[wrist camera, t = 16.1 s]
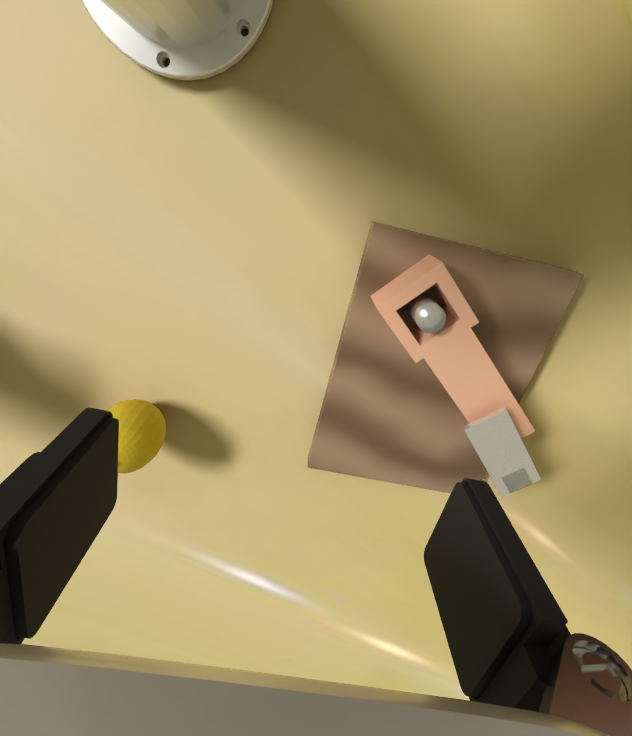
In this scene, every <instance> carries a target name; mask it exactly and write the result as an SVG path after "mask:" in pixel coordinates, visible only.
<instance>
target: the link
mask: <svg viewBox="0 0 632 736" xmlns="http://www.w3.org/2000/svg"><path fill="white" fill-rule="evenodd" d="M431 286H434V288H435V290H436V291H437V293H438V294H439V296H440V297H441V299H442V301H443V302H444V304H445V305H446V307H444V308H443V310H444V312H445V314H446V321H445V324H444V326H443V327H442V328H441V329H440V330H438V331H436V332H433V333H427V332H424V331H422V330H421V329H420V328H419V326H416V327H415V328H413V329H412V330H409V328H408V327H407V325H406V324H405V322H404V321H403V320H402V318H401V317H400V315H399V314H398V312H397V311H396V310H398V309H399V308H401V307H402V306H404V305H405V304H407V303H408V302H409V301H411V300H412V299H414V298H415V297H417V296H418V295H420V294H421V293H422V292H424V291H425V290H427V289H428V288H430V287H431ZM371 298H372V300H373V302H374V304H375V306H376V308H377V310H378V311H379V312H380V314H381V315H382V317H383V318H384V319H385V321H386V322H387V324H388V325H389V327H390V328H391V329H392V331H393V332H394V334H395V335H396V336H397V338H398V339H399V341H400V342H401V343H402V345H403V346H404V348H405V349H406V350H407V352H408V353H409V355H410V356H411V357H412V359H413V360H414V362H415V363H417V362H418V361H420V360H421V359H423V358H424V359H425V361H426V362H427V364H428V365H429V366H430V368H431V369H432V371H433V372H434V374H435V375H436V376H437V378H438V379H439V381H440V382H441V384H442V385H443V386H444V388H445V389H446V391H447V392H448V394H449V395H450V396H451V398H452V399H453V401H454V402H455V404H456V405H457V406H458V408H459V409H460V411H461V412H462V414H463V415H464V416H465V418H466V419H467V421H468V422H469V423H471V422H473V421H475V420H477V419H480V418H482V417H484V416H486V415H488V414H490V413H492V412H494V411H496V410H498V409H500V408H502V407H505V408H506V410H507V411H508V413H509V415H510V417H511V419H512V421H513V423H514V426H515V428H516V430H517V432H518V434H519V436H520V438H521V439H522V438H524V437H526V436H528V435H530V434H531V433H533V432H535V430H534V428H533V426H532V425H531V423H530V422H529V420H528V418H527V417H526V415H525V414H524V412H523V410H522V409H521V407H520V406H519V404H518V402H517V401H516V399H515V398H514V396H513V394H512V393H511V391H510V390H509V388H508V386H507V385H506V383H505V382H504V380H503V378H502V377H501V375H500V374H499V372H498V371H497V369H496V367H495V366H494V364H493V363H492V361H491V359H490V358H489V356H488V355H487V353H486V351H485V350H484V348H483V347H482V345H481V343H480V342H479V340H478V339H477V337H476V335H475V334H474V332H473V331H472V329H471V327H473V326H474V325H476V324H477V323H479V321H478V319H477V318H476V316H475V314H474V313H473V311H472V309H471V308H470V306H469V305H468V303H467V301H466V300H465V298H464V296H463V295H462V293H461V292H460V290H459V288H458V287H457V285H456V283H455V282H454V280H453V278H452V277H451V275H450V274H449V272H448V270H447V269H446V267H445V265H444V264H443V262H442V261H440V260H438V259H437V258H435V257H433V256H432V255H430V254H428V255H427V256H426V257H424V258H423V259H421V260H420V261H419V262H417V263H416V264H414V265H413V266H412V267H410V268H409V269H407V270H406V271H405V272H403V273H402V274H400V275H399V276H398V277H396V278H395V279H393V280H392V281H391V282H389V283H388V284H386V285H385V286H384V287H382V288H381V289H379V290H378V291H377V292H375V293H374V294H372V295H371Z"/></svg>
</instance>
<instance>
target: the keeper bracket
mask: <svg viewBox="0 0 632 736" xmlns="http://www.w3.org/2000/svg"><path fill="white" fill-rule="evenodd" d="M463 429H464V431H465V432H466V434H467V436H468V438H469V440H470V441H471V443H472V445H473V447H474V449H475V450H476V452H477V454H478V456H479V457H480V459H481V461H482V463H483V465H484V466H485V468H486V470H487V472H488V473H489V475H490V477H491V479H492V481H493V482H494V484H495V486H496V488H497V490H498V491H499V493H500V495H501V496H502V497H503V496H505V495H507V494H510V493H512V492H514V491H517V490H519V489H521V488H523V487H526V486H528V485H530V484H533V483H535V482H537V481H539V480H541V478H540V476H539V474H538V472H537V470H536V468H535V466H534V464H533V462H532V460H531V458H530V456H529V454H528V452H527V450H526V448H525V446H524V444H523V442H522V440H521V438H520V436H519V434H518V432H517V430H516V428H515V426H514V423H513V421H512V419H511V417H510V415H509V413H508V411H507V410H506V408H505V407H502V408H500V409H498V410H496V411H494V412H492V413H490V414H488V415H486V416H484V417H482V418H480V419H477V420H475V421H473V422H471V423H469V424H467V425H465V426H463Z"/></svg>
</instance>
